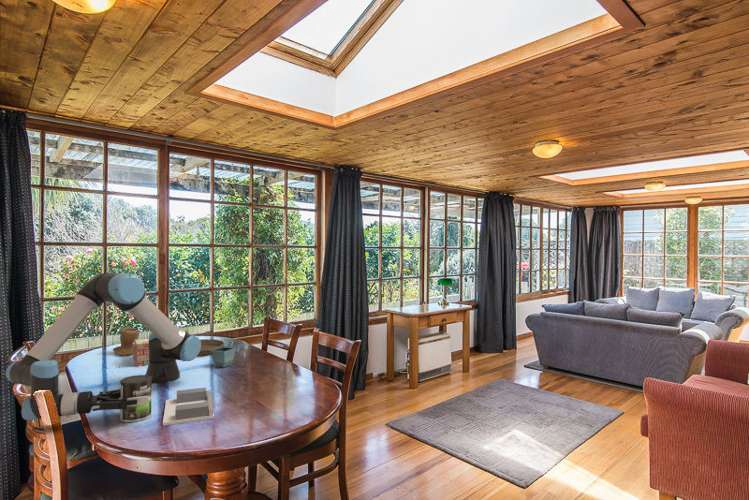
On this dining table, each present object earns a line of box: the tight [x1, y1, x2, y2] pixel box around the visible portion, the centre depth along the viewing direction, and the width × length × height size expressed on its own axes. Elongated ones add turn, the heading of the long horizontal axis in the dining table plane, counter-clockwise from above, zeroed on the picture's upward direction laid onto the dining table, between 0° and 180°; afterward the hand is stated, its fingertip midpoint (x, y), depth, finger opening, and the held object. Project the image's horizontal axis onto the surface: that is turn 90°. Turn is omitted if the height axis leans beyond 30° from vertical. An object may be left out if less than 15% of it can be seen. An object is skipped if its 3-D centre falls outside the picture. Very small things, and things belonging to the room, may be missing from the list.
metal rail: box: [206, 389, 214, 416], centre depth 170 cm, size 2×24×2 cm, turn 23°
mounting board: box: [162, 396, 215, 427], centre depth 167 cm, size 17×25×1 cm
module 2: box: [175, 402, 208, 420], centre depth 159 cm, size 11×5×4 cm, turn 113°
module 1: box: [176, 387, 207, 403], centre depth 175 cm, size 11×5×4 cm, turn 113°
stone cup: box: [112, 327, 140, 356], centre depth 253 cm, size 15×12×15 cm
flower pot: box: [211, 346, 236, 368], centre depth 228 cm, size 9×9×9 cm
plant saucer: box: [196, 338, 226, 358], centre depth 259 cm, size 31×31×5 cm
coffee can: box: [119, 374, 153, 423], centre depth 160 cm, size 10×10×14 cm
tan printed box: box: [132, 338, 149, 367], centre depth 236 cm, size 21×6×12 cm, turn 34°
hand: (149, 395), depth 161 cm, fingers closed on coffee can, 10 cm apart
